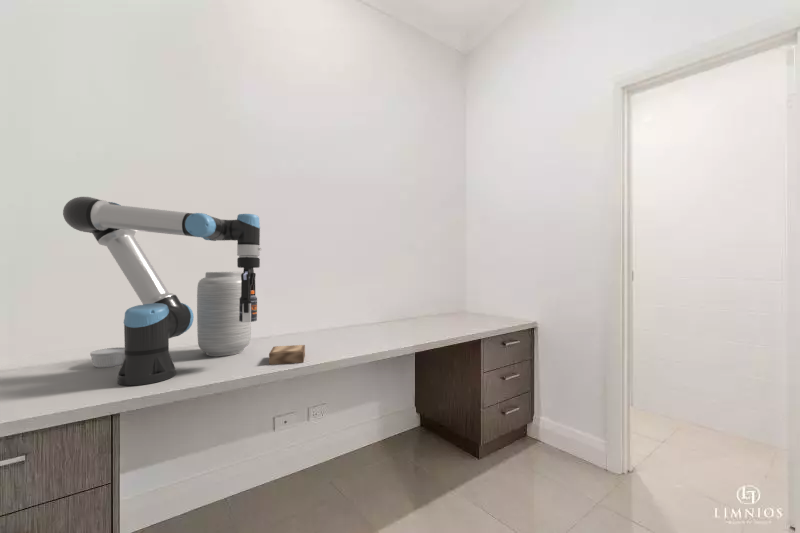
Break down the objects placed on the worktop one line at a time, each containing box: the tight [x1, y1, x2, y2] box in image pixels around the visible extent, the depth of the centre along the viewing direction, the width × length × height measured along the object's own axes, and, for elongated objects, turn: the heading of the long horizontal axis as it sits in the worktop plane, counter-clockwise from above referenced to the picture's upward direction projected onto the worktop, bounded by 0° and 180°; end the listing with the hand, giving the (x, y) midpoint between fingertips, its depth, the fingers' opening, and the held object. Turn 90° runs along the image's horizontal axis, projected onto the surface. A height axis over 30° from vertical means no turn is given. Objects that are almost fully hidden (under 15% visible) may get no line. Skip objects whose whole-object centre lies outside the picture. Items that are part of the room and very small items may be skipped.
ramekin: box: [89, 346, 125, 369], centre depth 135 cm, size 11×11×5 cm
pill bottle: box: [239, 290, 258, 323], centre depth 133 cm, size 6×6×11 cm
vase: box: [196, 271, 252, 357], centre depth 153 cm, size 20×20×34 cm
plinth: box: [268, 344, 306, 365], centre depth 140 cm, size 12×12×4 cm
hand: (248, 320), depth 133 cm, fingers closed on pill bottle, 6 cm apart
